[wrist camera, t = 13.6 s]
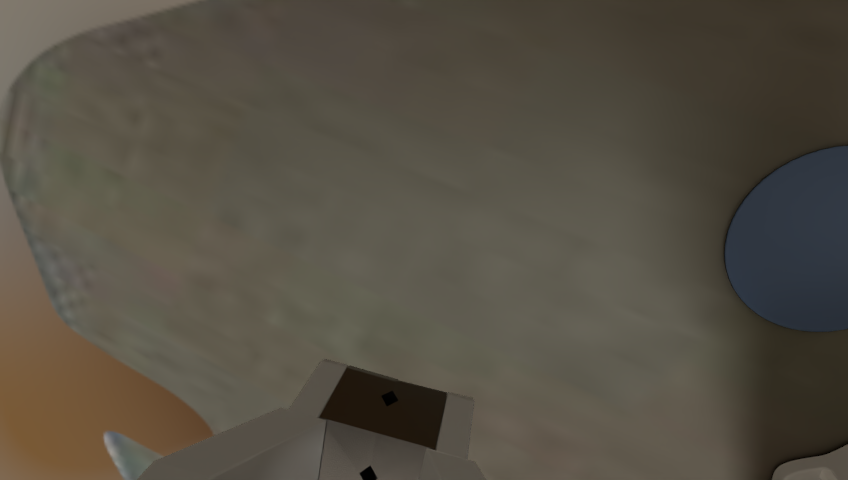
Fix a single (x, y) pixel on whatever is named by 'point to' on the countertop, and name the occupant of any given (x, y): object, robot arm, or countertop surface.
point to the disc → (795, 244)
